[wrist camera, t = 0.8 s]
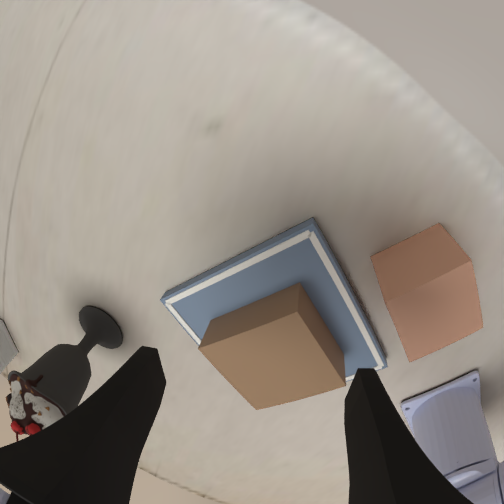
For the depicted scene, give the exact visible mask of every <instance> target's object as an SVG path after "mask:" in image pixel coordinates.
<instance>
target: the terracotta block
mask: <svg viewBox="0 0 504 504" xmlns="http://www.w3.org/2000/svg"><path fill="white" fill-rule="evenodd" d="M371 260H372V263H373V266H374V269H375V272H376V275H377V278H378V282H379V285H380V288H381V291H382V294H383V298H384V301H385V304H386V306H387V308H388V311H389V313H390V315H391V318H392V320H393V322H394V325H395V327H396V330H397V332H398V334H399V337H400V339H401V342H402V344H403V347H404V349H405V352H406V355H407V357H408V360H409V362H412V361H414V360H416V359H419V358H421V357H423V356H426V355H428V354H430V353H433V352H435V351H437V350H439V349H441V348H443V347H446V346H448V345H450V344H452V343H454V342H456V341H458V340H460V339H462V338H464V337H466V336H468V335H470V334H472V333H474V332H476V331H478V330H480V329H481V328H483V321H482V314H481V308H480V301H479V295H478V290H477V284H476V279H475V274H474V270H473V265H472V261H471V259H470V258H469V257H468V255H467V254H466V253H465V252H464V251H463V249H462V248H461V247H460V246H459V245H458V244H457V242H456V241H455V240H454V239H453V238H452V237H451V236H450V234H449V233H448V232H447V231H446V230H445V229H444V228H443V227H442V226H441V225H440V223H438V224H436V225H434V226H432V227H430V228H428V229H426V230H424V231H422V232H420V233H418V234H416V235H414V236H412V237H410V238H408V239H406V240H404V241H402V242H400V243H398V244H396V245H394V246H392V247H389V248H387V249H385V250H383V251H381V252H379V253H377V254H375V255H373V256H371Z"/></svg>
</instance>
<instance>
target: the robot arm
mask: <svg viewBox="0 0 504 504" xmlns="http://www.w3.org/2000/svg"><path fill="white" fill-rule="evenodd" d="M165 386H166V379H165V376H164V372H163V368H162V365H161V361H160V357H159V354H158V350H157V349H156V348H151V347H146V346H142V347H140V348H139V349H138V350H137V351H136V352H135V353H134V354H133V355H132V356H131V357H130V358H129V360H128V361H127V362H126V363H125V364H124V365H123V366H122V367H121V368H120V369H119V370H118V371H117V372H116V373H115V374H114V375H113V376H112V377H111V378H109V379H108V380H107V381H106V382H105V383H104V384H103V385H102V386H101V387H100V388H99V389H98V390H97V391H95V392H94V393H93V394H92V395H91V396H90V397H89V398H87V399H86V400H85V401H84V402H83V403H81V404H80V405H79V406H78V407H76V408H75V409H74V410H72V411H71V412H70V413H68V414H67V415H65V416H64V417H62V418H61V419H59V420H58V421H56V422H55V423H53V424H51V425H50V426H48V427H46V428H45V429H43V430H41V431H39V432H37V433H35V434H33V435H31V436H29V437H27V438H25V439H22V440H20V441H18V442H15V443H12V444H10V445H7V446H4V447H1V448H0V484H2V485H3V486H5V487H6V488H7V489H9V490H10V491H12V492H11V494H8V493H7V492H5V491H4V490H2V489H1V488H0V504H129V501H130V496H131V491H132V486H133V482H134V477H135V473H136V469H137V465H138V462H139V458H140V455H141V452H142V450H143V447H144V445H145V442H146V440H147V437H148V435H149V432H150V430H151V427H152V425H153V422H154V420H155V417H156V415H157V412H158V410H159V407H160V405H161V401H162V397H163V394H164V390H165ZM401 408H402V411H403V413H404V415H405V417H406V419H407V422H408V424H409V426H410V428H411V431H412V433H413V435H414V437H415V439H414V438H413V436H412V435H411V433H410V431H409V430H408V428H407V427H406V425H405V424H404V422H403V420H402V418H401V417H400V415H399V413H398V412H397V410H396V408H395V406H394V405H393V403H392V401H391V399H390V397H389V395H388V394H387V392H386V390H385V388H384V386H383V384H382V382H381V380H380V378H379V376H378V374H377V372H376V370H375V369H374V368H358V369H357V371H356V374H355V376H354V379H353V381H352V384H351V386H350V389H349V391H348V393H347V396H346V398H345V413H344V425H345V435H346V445H347V455H348V465H349V481H350V487H349V504H504V461H503V462H502V463H499V462H498V461H497V457H496V453H495V449H494V446H493V442H492V439H491V435H490V432H489V429H488V425H487V422H486V419H485V416H484V413H483V410H482V407H481V393H480V378H479V373H478V371H473V372H471V373H469V374H467V375H465V376H463V377H460V378H458V379H456V380H454V381H452V382H450V383H447V384H445V385H443V386H441V387H438V388H436V389H434V390H431V391H429V392H426V393H424V394H421V395H419V396H416V397H414V398H411V399H408V400H406V401H403V402H402V403H401Z"/></svg>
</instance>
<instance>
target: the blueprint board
mask: <svg viewBox="0 0 504 504" xmlns="http://www.w3.org/2000/svg"><path fill="white" fill-rule="evenodd" d="M160 300H161V302H162V303H163V304H164V305H165V307H166V308H167V309H168V310H169V312H170V313H171V314H172V315H173V316H174V318H175V319H176V320H177V321H178V322H179V324H180V325H181V326H182V327H183V328H184V329H185V331H186V332H187V333H188V334H189V335H190V336H191V338H192V339H193V340H194V341H195V342H196V343H197V344H198V346H199V347H198V349H199V350H200V351H201V352H202V354H203V355H204V356H205V357H206V358H207V359H208V360H209V361H210V362H211V364H212V365H213V366H214V367H215V368H216V369H217V370H218V371H219V372H220V373H221V374H222V375H223V376H224V378H225V379H226V380H227V381H228V382H229V383H230V384H231V385H232V386H233V387H234V388H235V389H236V390H237V391H238V392H239V393H240V394H241V395H242V396H243V397H244V398H245V399H246V400H247V401H248V402H249V403H250V404H251V405H252V406H253V407H254V408H255V409H256V410H259V409H263V408H267V407H272V406H276V405H280V404H284V403H288V402H292V401H296V400H300V399H303V398H307V397H311V396H314V395H318V394H321V393H324V392H328V391H331V390H334V389H337V388H341V387H344V386H346V382H347V381H350V380H353V379H354V376H355V374H356V371H357V369H358V368H374V369H375V370H376V371H378V370H381V369H384V368H386V367H388V366H387V361H386V357H385V355H384V353H383V351H382V348H381V346H380V344H379V342H378V340H377V338H376V336H375V334H374V332H373V330H372V328H371V326H370V324H369V322H368V319H367V317H366V315H365V313H364V311H363V309H362V307H361V305H360V304H359V302H358V300H357V298H356V296H355V294H354V292H353V290H352V288H351V286H350V284H349V282H348V280H347V278H346V276H345V275H344V273H343V271H342V269H341V267H340V265H339V263H338V261H337V260H336V258H335V256H334V254H333V252H332V250H331V249H330V247H329V245H328V243H327V241H326V239H325V238H324V236H323V234H322V232H321V231H320V229H319V227H318V225H317V223H316V222H315V220H314V218H311V219H309V220H307V221H305V222H303V223H301V224H299V225H297V226H295V227H293V228H291V229H289V230H287V231H285V232H283V233H281V234H279V235H277V236H275V237H273V238H271V239H269V240H267V241H265V242H263V243H261V244H259V245H257V246H255V247H253V248H251V249H249V250H247V251H246V252H244V253H242V254H240V255H238V256H236V257H234V258H232V259H230V260H228V261H226V262H224V263H222V264H220V265H218V266H216V267H214V268H212V269H210V270H208V271H206V272H204V273H202V274H200V275H198V276H196V277H194V278H192V279H190V280H188V281H187V282H185V283H183V284H181V285H179V286H177V287H175V288H173V289H171V290H169V291H167V292H165V293H164V295H163V296H162V298H161V299H160Z"/></svg>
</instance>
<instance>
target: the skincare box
mask: <svg viewBox="0 0 504 504" xmlns="http://www.w3.org/2000/svg"><path fill="white" fill-rule="evenodd" d="M17 353H18V350H17V349H16V347H15V345H14V343H13V341H12V339H11V337H10V335H9V332H8V330H7V328H6V326H5V324H4V322H3V321H2V320H1V319H0V373H1V372H2V371H3V370H4V369H5V367H6V366H7V365H8V364H9V363H10V362H11V360H12V359H13V358H14V357H15V356H16V355H17Z"/></svg>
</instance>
